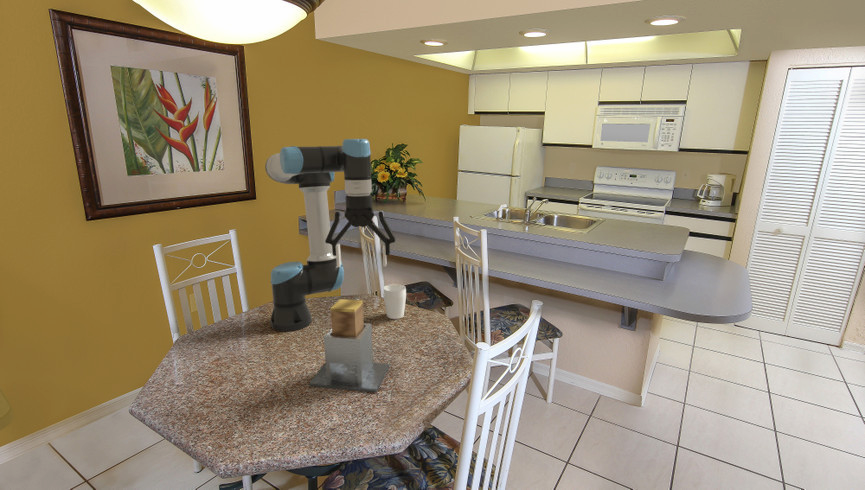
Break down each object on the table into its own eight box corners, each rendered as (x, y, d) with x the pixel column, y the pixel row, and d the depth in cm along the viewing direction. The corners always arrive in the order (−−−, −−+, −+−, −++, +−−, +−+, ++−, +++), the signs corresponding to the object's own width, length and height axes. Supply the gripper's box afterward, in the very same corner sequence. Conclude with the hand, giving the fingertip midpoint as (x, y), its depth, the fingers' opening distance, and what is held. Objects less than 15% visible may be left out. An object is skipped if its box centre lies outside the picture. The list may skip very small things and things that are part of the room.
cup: (403, 321, 166) (402, 292, 164) (381, 319, 168) (380, 290, 165) (409, 312, 175) (408, 284, 172) (388, 310, 177) (387, 283, 174)
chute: (309, 386, 123) (305, 338, 119) (328, 362, 136) (325, 318, 133) (376, 392, 120) (374, 343, 116) (389, 367, 133) (388, 322, 129)
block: (333, 353, 123) (330, 308, 120) (342, 342, 130) (339, 299, 126) (356, 355, 122) (354, 309, 118) (364, 344, 129) (362, 300, 125)
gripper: (311, 196, 118) (316, 270, 123) (401, 195, 119) (403, 268, 124) (317, 193, 126) (322, 262, 131) (402, 192, 126) (404, 261, 131)
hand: (362, 265), depth 127 cm, fingers open, 13 cm apart
